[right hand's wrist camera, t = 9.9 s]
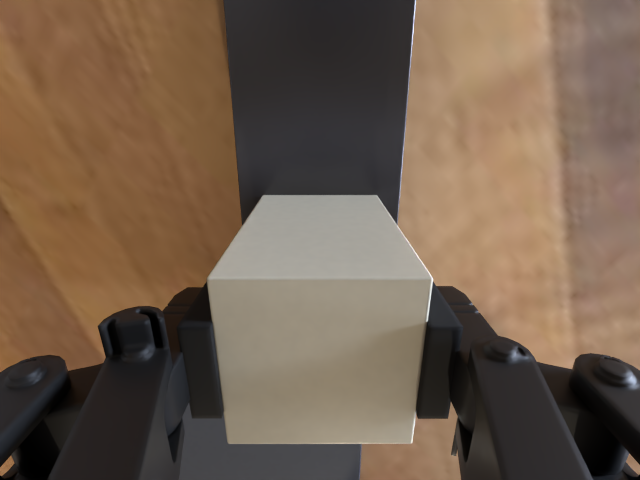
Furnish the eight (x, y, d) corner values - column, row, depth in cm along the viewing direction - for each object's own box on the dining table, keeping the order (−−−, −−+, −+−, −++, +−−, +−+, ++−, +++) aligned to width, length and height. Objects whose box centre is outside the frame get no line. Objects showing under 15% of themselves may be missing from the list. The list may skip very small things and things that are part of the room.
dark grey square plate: (364, 364, 23) (365, 370, 23) (357, 504, 28) (357, 512, 27) (155, 364, 23) (151, 370, 23) (184, 504, 28) (181, 512, 27)
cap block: (262, 194, 15) (205, 277, 8) (377, 194, 15) (434, 277, 8) (268, 295, 17) (227, 444, 9) (371, 295, 17) (412, 444, 9)
